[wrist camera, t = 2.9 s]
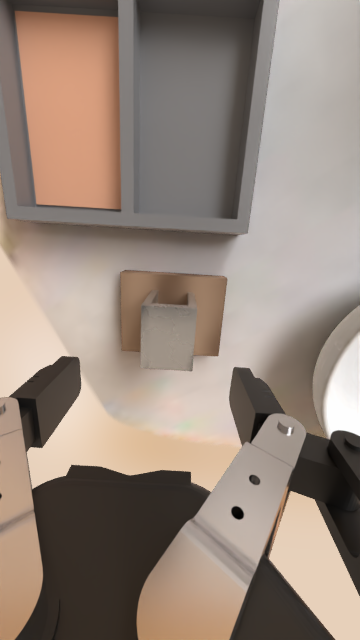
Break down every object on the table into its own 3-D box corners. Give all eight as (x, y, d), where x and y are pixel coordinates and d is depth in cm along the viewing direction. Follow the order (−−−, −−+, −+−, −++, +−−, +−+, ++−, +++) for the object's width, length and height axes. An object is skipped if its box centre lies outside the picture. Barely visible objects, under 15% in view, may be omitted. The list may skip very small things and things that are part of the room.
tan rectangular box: (223, 276, 24) (227, 278, 22) (215, 348, 26) (218, 356, 24) (125, 270, 24) (120, 272, 22) (126, 342, 26) (121, 350, 24)
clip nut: (193, 292, 23) (197, 308, 17) (190, 341, 24) (192, 371, 18) (152, 290, 23) (141, 305, 17) (150, 338, 24) (140, 368, 18)
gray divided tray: (267, 11, 18) (284, -38, 15) (238, 234, 23) (247, 233, 20) (4, -5, 18) (-34, -58, 15) (31, 222, 23) (7, 218, 20)
